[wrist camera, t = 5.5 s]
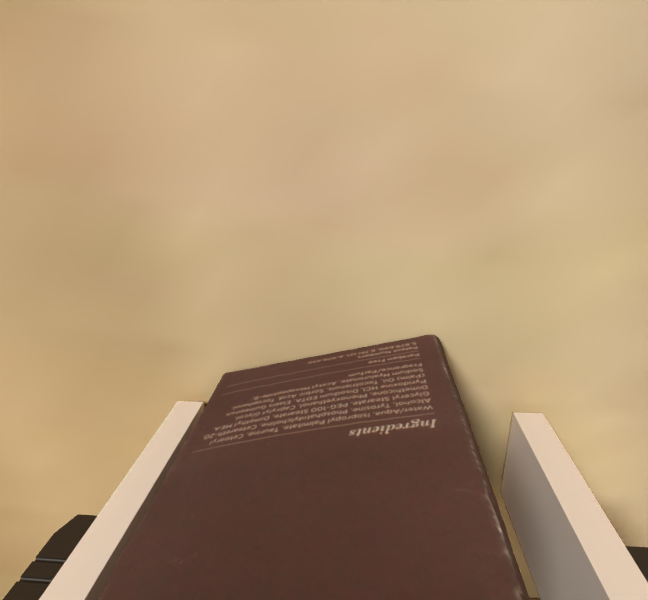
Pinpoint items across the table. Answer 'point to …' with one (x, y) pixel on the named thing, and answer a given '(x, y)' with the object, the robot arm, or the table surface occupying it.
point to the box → (326, 490)
